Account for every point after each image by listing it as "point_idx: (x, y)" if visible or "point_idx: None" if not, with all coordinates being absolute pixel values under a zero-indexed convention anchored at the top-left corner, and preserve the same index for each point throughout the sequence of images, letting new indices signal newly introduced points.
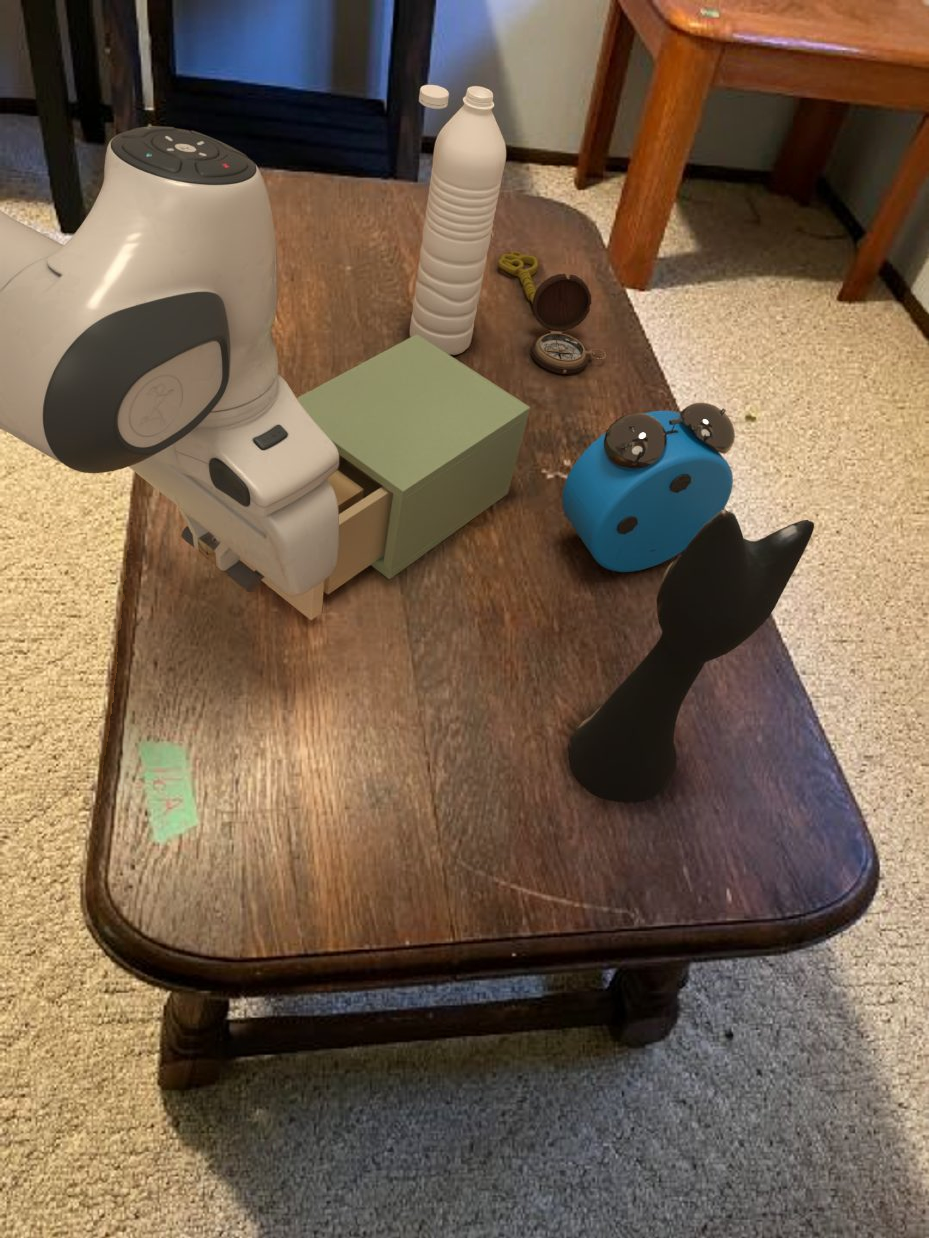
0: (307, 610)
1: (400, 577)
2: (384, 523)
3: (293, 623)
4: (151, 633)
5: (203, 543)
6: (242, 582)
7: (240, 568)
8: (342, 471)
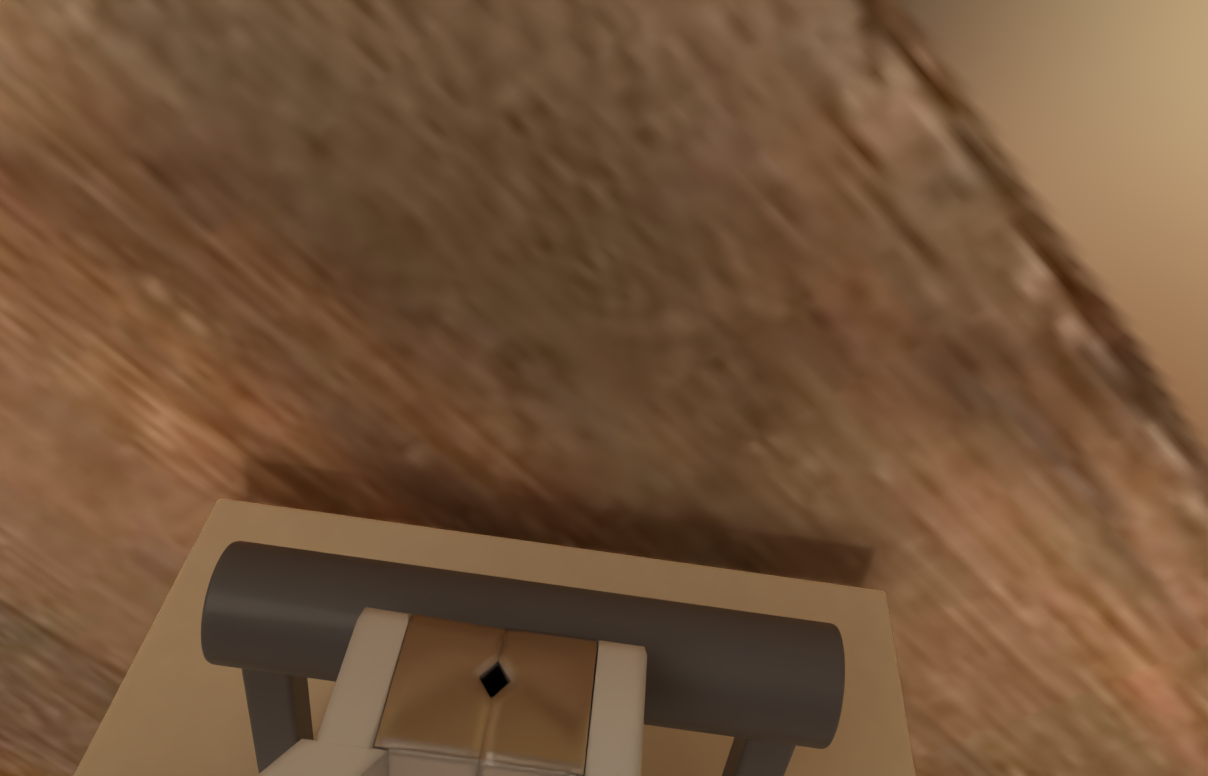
0: (221, 536)
1: None
2: None
3: (306, 443)
4: (758, 23)
5: (517, 754)
6: (252, 588)
7: (320, 659)
8: None
